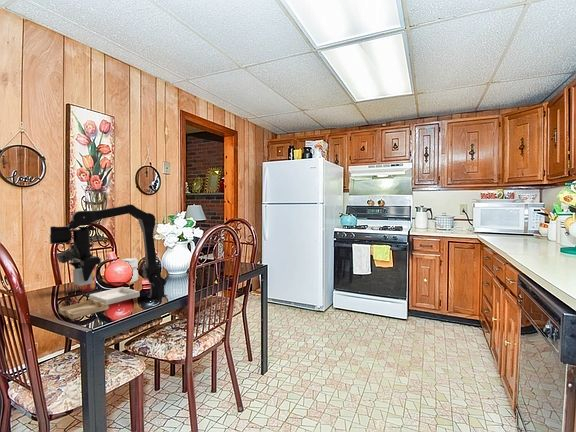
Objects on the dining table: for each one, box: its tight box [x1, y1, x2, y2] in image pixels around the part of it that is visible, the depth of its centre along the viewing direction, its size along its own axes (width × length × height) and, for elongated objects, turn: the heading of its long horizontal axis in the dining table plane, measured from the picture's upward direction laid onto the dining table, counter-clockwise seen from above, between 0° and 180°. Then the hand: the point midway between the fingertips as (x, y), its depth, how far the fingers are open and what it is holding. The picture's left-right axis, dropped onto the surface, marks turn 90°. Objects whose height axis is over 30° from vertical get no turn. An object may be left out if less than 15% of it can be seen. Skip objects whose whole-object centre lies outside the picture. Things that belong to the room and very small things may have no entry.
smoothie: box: [78, 265, 97, 293], centre depth 160 cm, size 8×8×20 cm
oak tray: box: [58, 299, 110, 321], centre depth 130 cm, size 13×13×2 cm
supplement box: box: [121, 257, 139, 284], centre depth 177 cm, size 7×7×13 cm
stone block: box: [72, 268, 93, 287], centre depth 129 cm, size 5×5×6 cm
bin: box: [88, 286, 140, 306], centre depth 147 cm, size 15×15×2 cm
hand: (83, 280), depth 129 cm, fingers closed on stone block, 5 cm apart
